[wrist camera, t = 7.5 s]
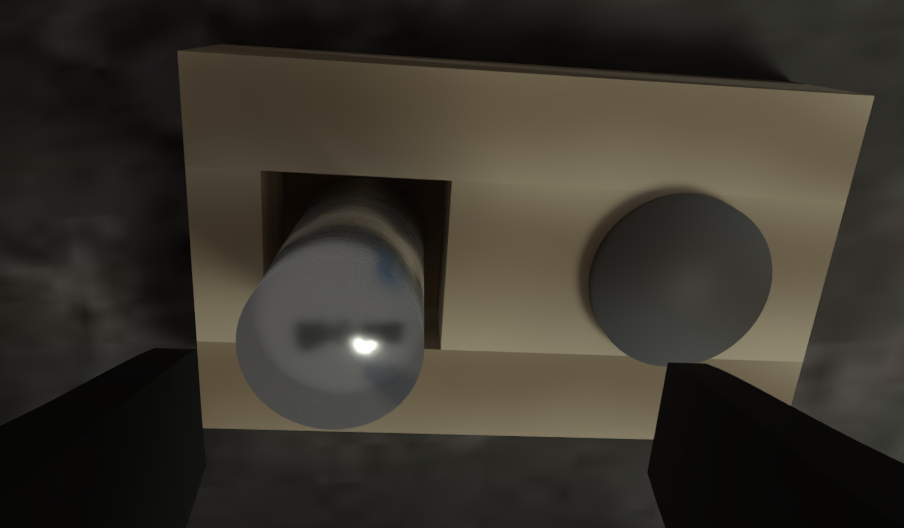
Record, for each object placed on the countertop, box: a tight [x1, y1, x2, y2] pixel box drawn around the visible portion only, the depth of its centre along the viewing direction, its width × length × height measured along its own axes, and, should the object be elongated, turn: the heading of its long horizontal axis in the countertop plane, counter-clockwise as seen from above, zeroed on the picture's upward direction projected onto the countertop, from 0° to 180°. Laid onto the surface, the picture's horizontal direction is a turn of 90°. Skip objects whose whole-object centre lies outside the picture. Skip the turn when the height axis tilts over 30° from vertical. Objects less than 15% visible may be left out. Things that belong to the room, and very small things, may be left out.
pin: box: [235, 175, 424, 430], centre depth 15 cm, size 3×3×7 cm
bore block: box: [177, 44, 874, 439], centre depth 17 cm, size 9×15×4 cm, turn 86°
